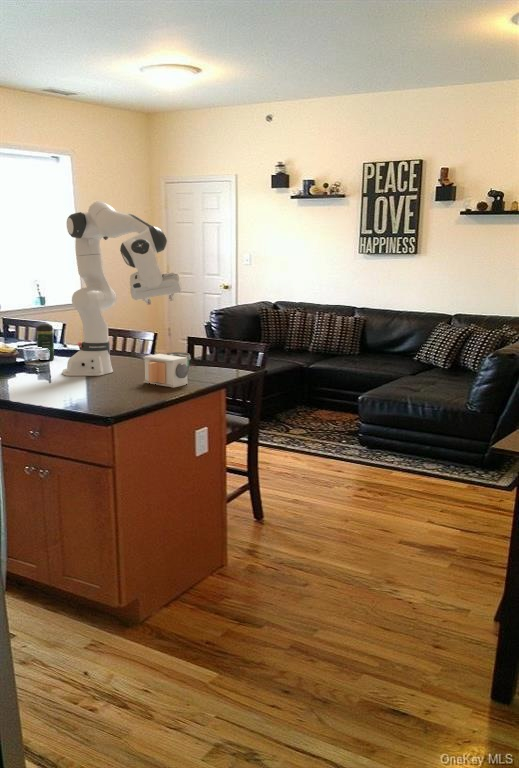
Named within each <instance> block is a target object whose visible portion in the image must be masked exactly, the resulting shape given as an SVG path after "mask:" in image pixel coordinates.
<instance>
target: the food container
mask: <svg viewBox="0 0 519 768" xmlns="http://www.w3.org/2000/svg"><path fill="white" fill-rule="evenodd" d="M165 355H172V356H180V357H187V367H188V370H189V367H190V360H191V359H192V357H191V354H190V353H188V352H182V351H181V352H180V351H175V352H172V351H171V352H167V353H166V354H165ZM187 377H189V373H188V374H187Z"/></svg>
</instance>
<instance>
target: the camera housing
mask: <svg viewBox="0 0 519 768" xmlns="http://www.w3.org/2000/svg"><path fill="white" fill-rule="evenodd" d="M142 357H143V358H142V359H144V380H143V383H145V384H149V383H150V382H149V369H148V363H149V361H155V362H162V363H165V371H166V383H159V382H153V383H150V384H151V385H155V384H156V385H155V386H163V387H166V388H167V387H168V388H177V387H182V386H186V384H187V385H188V383H189V382H188V378H189V376H187V374H188V375H189V369H188V367H187V357H180V356H172V355H166V354H163V353H157V354H156V353H155V354H151V355H145V356H142Z"/></svg>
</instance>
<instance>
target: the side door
mask: <svg viewBox="0 0 519 768" xmlns="http://www.w3.org/2000/svg"><path fill="white" fill-rule="evenodd" d="M148 369H149V382H150V383H153V382H159V383H166V371H165V363H162V362H155V361H149V363H148Z"/></svg>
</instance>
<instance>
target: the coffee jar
mask: <svg viewBox="0 0 519 768" xmlns="http://www.w3.org/2000/svg"><path fill="white" fill-rule="evenodd" d="M36 343H37V347H42V348H48V349H49V350H50V360H49V361H53V360H54V359H55V350H54V349H55V347H54V346H55V345H54V344H55V342H54V328H53V325H52V324H50V323H45V322H44V323H42V322H41V323H40V324H38V325H37V326H36Z"/></svg>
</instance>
